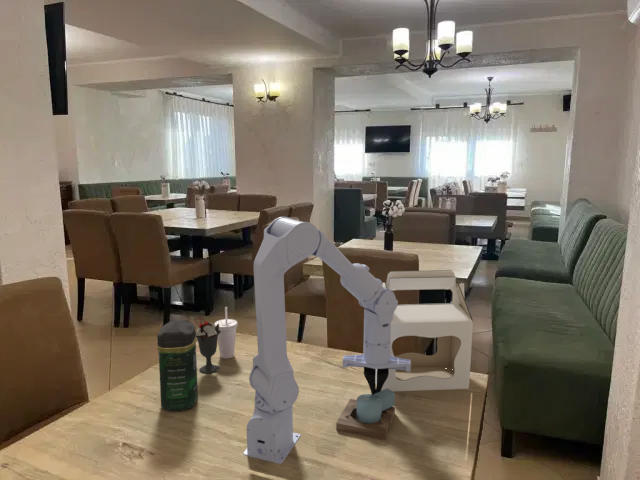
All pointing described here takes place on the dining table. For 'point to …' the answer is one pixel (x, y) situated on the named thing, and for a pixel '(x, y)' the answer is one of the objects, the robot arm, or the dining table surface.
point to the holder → (371, 430)
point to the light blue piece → (373, 406)
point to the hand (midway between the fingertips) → (375, 398)
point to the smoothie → (226, 336)
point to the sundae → (208, 344)
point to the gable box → (431, 333)
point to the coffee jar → (177, 365)
